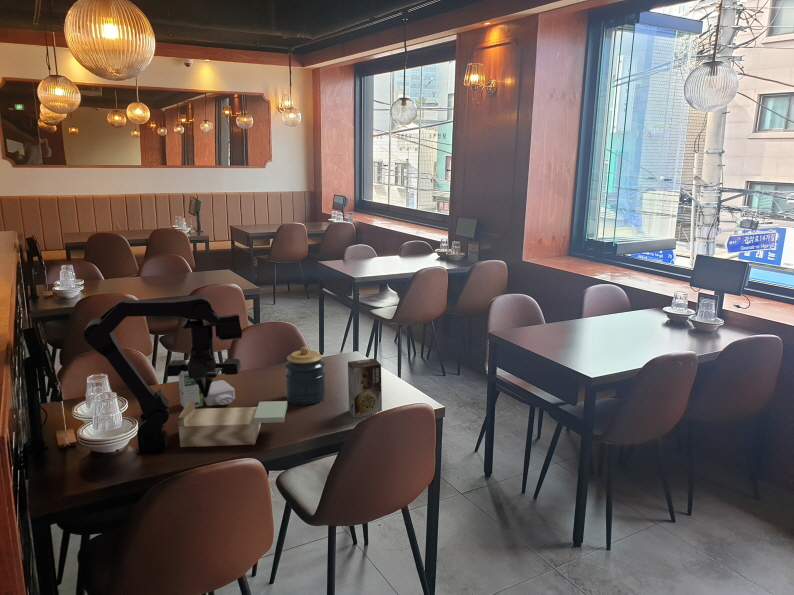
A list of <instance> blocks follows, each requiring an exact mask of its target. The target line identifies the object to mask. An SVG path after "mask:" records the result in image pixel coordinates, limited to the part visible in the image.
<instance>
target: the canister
mask: <svg viewBox="0 0 794 595" xmlns="http://www.w3.org/2000/svg"><path fill="white" fill-rule="evenodd" d="M286 360H287V361H286V362H284V367H285V369H286V372H285V374H284V377H285V397H286V401H287V403H288V402H289V403H290V404H292V403H293V405H299V406H308V405H309V404H310V405H314V404H317V403H320V401H321V402H322V401H324V400H325V397H326V393H327V392H326V391H327V390H326V379H325V378H326V371H325V370H324V367H325V366H326V362H325V361H324V360H323V355H322V354H320V353H318V351H315V350H311V349H309V348H308V347H307V346H301V347H300V350H295V351H293V352H292V353H290V354H289V355H288V356H287V357H286ZM310 405H309V406H310Z"/></svg>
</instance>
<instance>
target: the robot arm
mask: <svg viewBox="0 0 794 595" xmlns="http://www.w3.org/2000/svg"><path fill="white" fill-rule="evenodd" d="M169 316H170V317H173V316H175V317H180V318H183V319H186V320H185V321H184V322H182V324H181V325H182V329H183V330H185V329H186V330H187V329H189V335H190V346H191V348H190V356H189V359H188V360H189V362H188V364H186V361H187V360H185V359H178V360H177V359H175V360H171V361H170V362H169V364H167V366H166V367H165V376H166V377H178V375H179V374H180V373H181V371H188V374H189V376H188V377H189V378H192V379H194V380H195V381H196V383H197V384H198V386H199V388H200V390H201V392H202V394H203V396H204V398H207V397H208V394H209V391H210V387H211V384H212V382H214V381H213V380H214V379H215V378H217V377H218V375H219V373H220V372H221V371H222V374H224V375H226V376H227V375H228V376H229V375H234V376H235V375H237V374H239V372H240V370H241V367H242V366H241V360H240V359H239V358H225V359H224V361H223V362H217V360H216V358H215V349H214V348H215V343H214V336H215V338H218V340H219V342H221V341H224V342H225V341H232V340H242V338H243V337H242V336H243V332H242V331H243V330H242V326H241V322H240V321H241V320H240V315H239V314H238V313H234V314H230V315H218V313H217V312H216V311H214V309H213V308H212V305H211V302H210V300H209V298H208V297H207V296H205V295H203V294H194V295H193V294H192V295H189V296H183V297H180V298H175V299H120V300H117V301H116V303H115V304H114V305H113V306H112V307H110V308H109V309H108V310H107V311H106V312H104V313H103V314H102V315H101V316H100V317H99V318H93V319H91V320H89V322H88V323H87V324H86V327H85V328H84V332H83V339H84V342H86V344H88V346H89V347H91V348H92V349H93V350H94V351H95V352H97V353H98V354H99V355H101V356H103V357H104V358H105V359H106V360H107V361H108V363H109V364H110V365H111V367H112V368H113V369H114V370H115V372H116V373H117V375H118V376H119V378H120V379H121V380H122V381H123V383H124V384H125V385H126V386H127V388H128V389H129V390H130V392H131V394H133V396H134V397H135V399H136V400H137V403H138V405H139V407H140V410H141V412H142V413H141V414H140V415H139V416H138V425H137V426H138V427H137V430H136V433H137V434H136V435H137V445H138V450H137V452H136V455H137V456H142V455H143V456H144V455H145V456H146V455H162V454H163V452H164V451H165V450H166V448H167V446H168V445H169V442H168V431H167V430H166V429H165V424H166V423H167V422H168V420H169V417H170V410H169V409H170V406H169V405H170V404H169V403H170V402H169V401H170V400H169V398H167V397H166V396H165V395H164V392H163V391H162V390H161V389H162V388H159V389H158V390H157V391H155V390H154V389H152V388H151V386H149V384H148V383H147V382H146V381H145V379H144V377H143V376H142V375H141V374H140V373H139V371H138V370H137V368H136V367H135V366H134V364H133V362H131V360H130V359H129V357H128V356H127V355H126V353H125V352H124V351H123V349H122V348H121V347H120V344H119V342H118V340H117V337H116V334H115V332H114V330H115V329H116V328H118V326H119V325H120V324H121V323H122V322H123V321H124V320H125V319H126V318H128V317H129V318H132V317H169ZM213 327H214V334H213Z"/></svg>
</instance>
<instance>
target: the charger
mask: <svg viewBox="0 0 794 595" xmlns="http://www.w3.org/2000/svg"><path fill="white" fill-rule="evenodd" d="M235 390H236V389H235V388H234V387H233V386H231V385H230V384H229V383H228V382H226V381H225V380H224V379H222V380H215V381H212V384H211V387H210V391H209V394H208V397H207V398H204V396H203V394H202V397H203V403H205V404H206V406H208V407H213V405H214V406H217V405H221V406H224V405H228V404H231V403H232V402H234V401H235V399H236V391H235Z"/></svg>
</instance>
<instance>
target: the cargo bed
mask: <svg viewBox="0 0 794 595" xmlns="http://www.w3.org/2000/svg"><path fill="white" fill-rule="evenodd" d="M257 407H258V406H252V407H251V406H248V407H245V406H244V407H218V408H216V407H215V408H210V407H209V408H196V407H195V404H194V401H189V402H188V403H187V405H186V406H185V408H184V407H183V409H182V411H181V412H180V414H179V416H178V417H177V420H178V421H177V422H178V436H179V446H180V448H187V447H191V448H193V447H194V446H195V447H215V446H216V447H217V446H219V447H220V446H242V445H249V446H250V445H256V441H257V439H258V436H259V433H260V429H261V427H262V426H261V425H262V423H254V416H255V413H256V410H257Z"/></svg>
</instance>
